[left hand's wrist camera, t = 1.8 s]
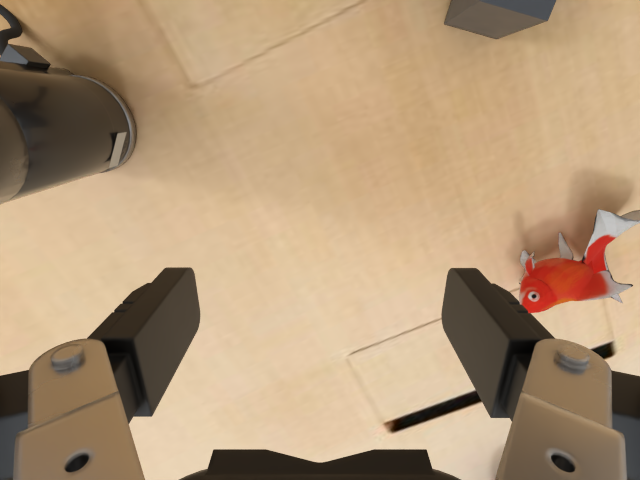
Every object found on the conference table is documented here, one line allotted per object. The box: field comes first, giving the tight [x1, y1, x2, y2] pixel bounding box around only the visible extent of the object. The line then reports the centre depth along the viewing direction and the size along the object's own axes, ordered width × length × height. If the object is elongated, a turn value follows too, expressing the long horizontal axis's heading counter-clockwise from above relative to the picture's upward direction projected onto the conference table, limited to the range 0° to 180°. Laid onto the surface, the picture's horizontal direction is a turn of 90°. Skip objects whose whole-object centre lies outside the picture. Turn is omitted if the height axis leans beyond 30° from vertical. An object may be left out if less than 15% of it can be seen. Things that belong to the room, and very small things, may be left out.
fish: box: [519, 209, 640, 313], centre depth 37 cm, size 11×16×10 cm
